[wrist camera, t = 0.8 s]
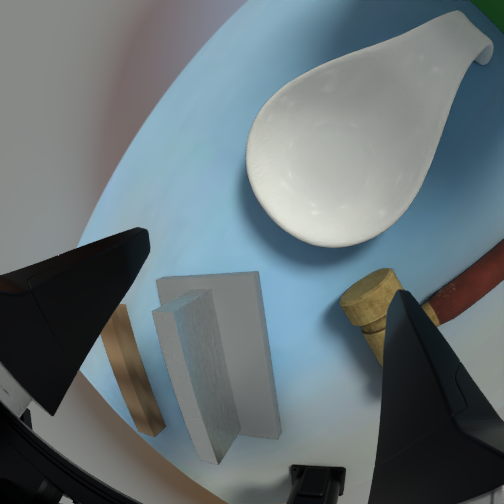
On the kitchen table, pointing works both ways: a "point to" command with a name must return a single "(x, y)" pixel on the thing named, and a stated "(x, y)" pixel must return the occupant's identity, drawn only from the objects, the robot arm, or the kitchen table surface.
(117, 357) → the walnut batten
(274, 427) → the board
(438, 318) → the gavel
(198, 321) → the steel ridge
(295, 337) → the kitchen table surface
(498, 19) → the hardback book
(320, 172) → the spoon rest
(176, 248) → the kitchen table surface
